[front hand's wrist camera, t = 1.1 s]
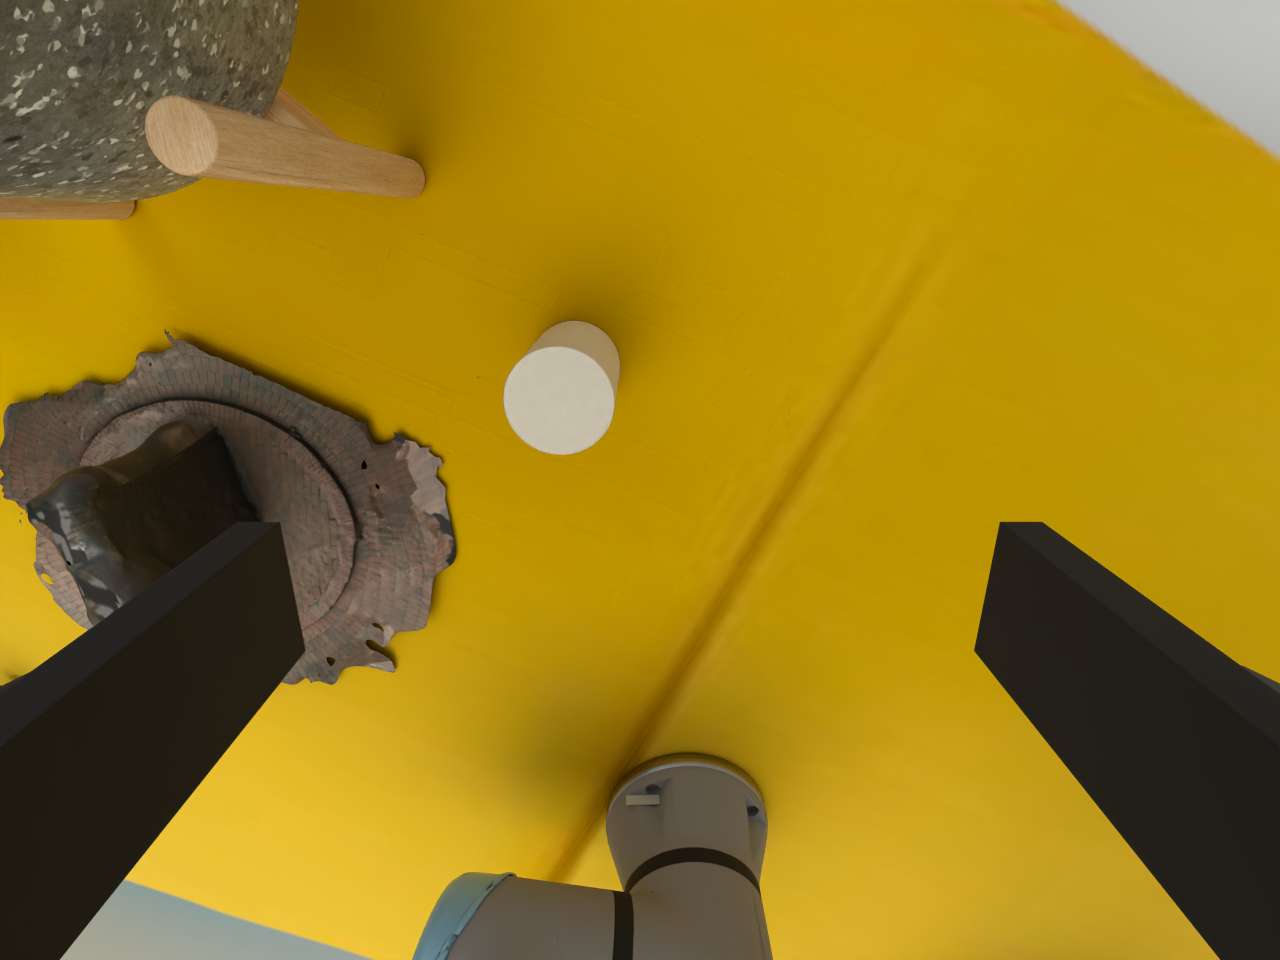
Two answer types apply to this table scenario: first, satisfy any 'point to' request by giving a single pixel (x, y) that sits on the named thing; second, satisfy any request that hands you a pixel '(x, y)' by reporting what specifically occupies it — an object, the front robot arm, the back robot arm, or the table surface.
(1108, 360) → the table surface
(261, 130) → the planter
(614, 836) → the front robot arm
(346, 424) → the sculpture
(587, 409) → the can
